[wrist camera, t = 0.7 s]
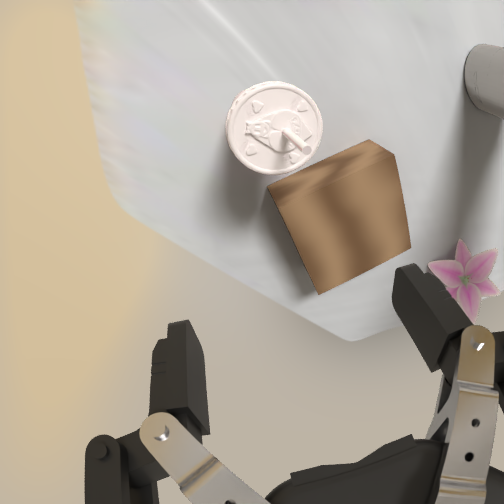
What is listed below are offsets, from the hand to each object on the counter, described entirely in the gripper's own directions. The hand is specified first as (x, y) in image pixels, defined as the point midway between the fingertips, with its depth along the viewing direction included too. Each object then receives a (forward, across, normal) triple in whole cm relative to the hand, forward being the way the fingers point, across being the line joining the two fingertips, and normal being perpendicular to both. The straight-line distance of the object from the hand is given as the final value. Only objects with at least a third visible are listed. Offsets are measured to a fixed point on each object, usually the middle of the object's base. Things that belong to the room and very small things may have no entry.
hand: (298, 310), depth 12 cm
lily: (+22, -30, +24) cm, 44 cm away
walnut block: (+22, -9, +9) cm, 25 cm away
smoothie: (+22, -2, -3) cm, 22 cm away
